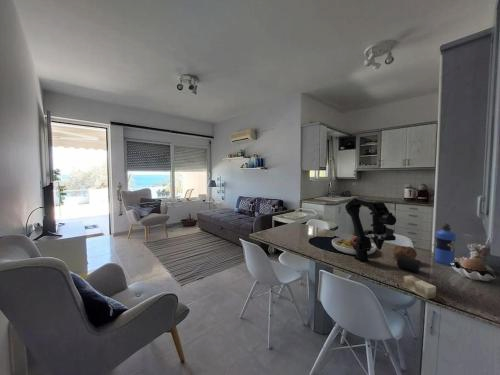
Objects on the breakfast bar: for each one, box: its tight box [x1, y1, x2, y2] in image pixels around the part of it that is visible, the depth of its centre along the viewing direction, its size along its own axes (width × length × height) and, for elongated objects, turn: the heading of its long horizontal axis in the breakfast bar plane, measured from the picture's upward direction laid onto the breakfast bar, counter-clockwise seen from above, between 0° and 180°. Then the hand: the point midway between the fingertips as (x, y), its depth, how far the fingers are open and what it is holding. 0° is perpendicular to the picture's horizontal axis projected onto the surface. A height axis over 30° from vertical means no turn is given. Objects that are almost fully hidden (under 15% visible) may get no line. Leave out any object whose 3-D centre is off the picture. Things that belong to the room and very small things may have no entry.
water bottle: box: [434, 222, 457, 266], centre depth 130 cm, size 9×9×25 cm
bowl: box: [331, 235, 377, 256], centre depth 156 cm, size 30×30×8 cm
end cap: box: [396, 257, 422, 274], centre depth 121 cm, size 10×7×7 cm
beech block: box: [401, 274, 437, 300], centre depth 99 cm, size 5×5×12 cm
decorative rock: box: [391, 245, 418, 261], centre depth 134 cm, size 13×11×10 cm
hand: (379, 249), depth 120 cm, fingers closed
